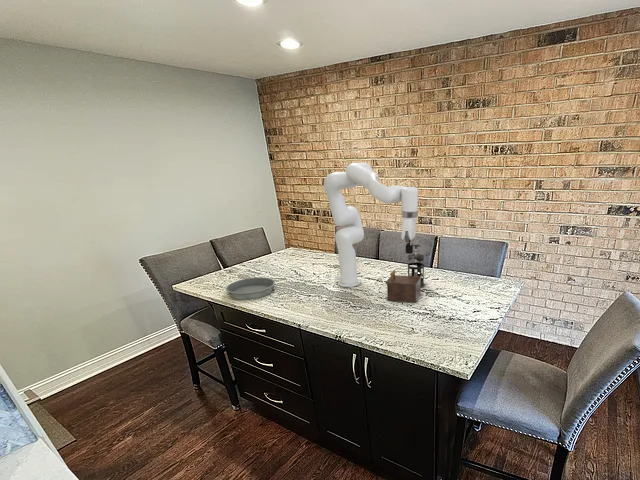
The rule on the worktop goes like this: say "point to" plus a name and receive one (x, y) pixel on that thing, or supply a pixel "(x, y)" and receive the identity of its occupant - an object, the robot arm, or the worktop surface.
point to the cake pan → (250, 288)
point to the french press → (419, 267)
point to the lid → (402, 279)
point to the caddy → (404, 292)
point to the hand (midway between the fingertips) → (409, 253)
